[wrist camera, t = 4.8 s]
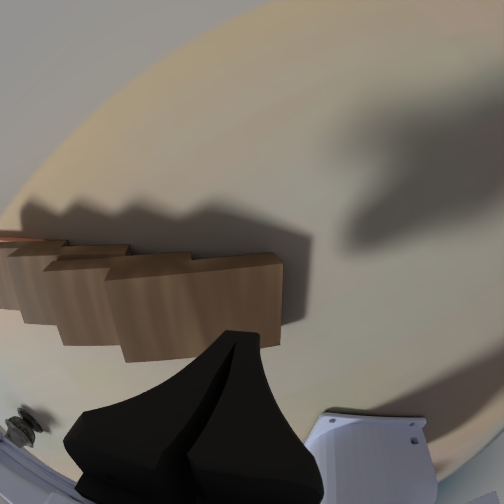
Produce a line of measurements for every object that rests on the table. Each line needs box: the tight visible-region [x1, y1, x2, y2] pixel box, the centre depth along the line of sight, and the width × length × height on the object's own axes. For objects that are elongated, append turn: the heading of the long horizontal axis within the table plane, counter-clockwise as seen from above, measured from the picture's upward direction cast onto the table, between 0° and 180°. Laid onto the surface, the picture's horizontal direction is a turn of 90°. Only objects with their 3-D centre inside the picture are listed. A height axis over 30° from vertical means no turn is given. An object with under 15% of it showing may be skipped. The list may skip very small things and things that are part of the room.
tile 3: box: [7, 244, 131, 325], centre depth 16 cm, size 2×5×8 cm
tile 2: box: [42, 252, 192, 346], centre depth 15 cm, size 2×5×8 cm
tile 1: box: [104, 253, 283, 363], centre depth 15 cm, size 2×5×8 cm
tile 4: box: [0, 240, 68, 310], centre depth 16 cm, size 2×5×8 cm
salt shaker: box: [4, 408, 43, 448], centre depth 24 cm, size 6×6×12 cm
